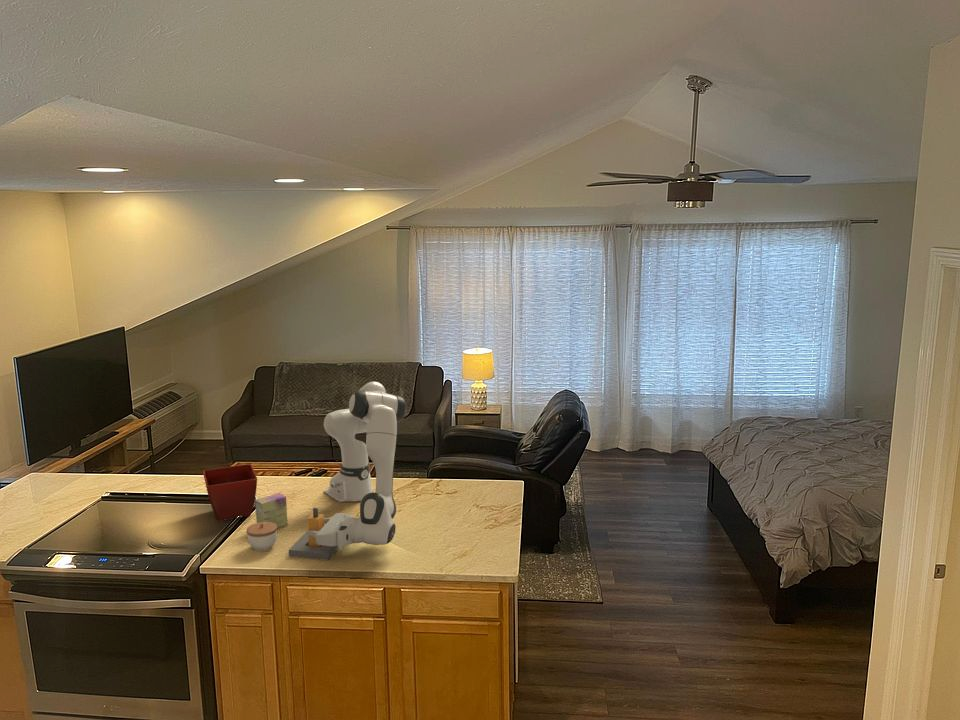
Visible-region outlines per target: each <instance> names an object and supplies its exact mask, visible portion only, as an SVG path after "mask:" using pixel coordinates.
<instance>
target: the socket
mask: <svg viewBox="0 0 960 720" xmlns="http://www.w3.org/2000/svg"><path fill="white" fill-rule="evenodd" d="M338 549H339V548H338V546H322V547H314V546H309V539H308V531H305V532H304V533H303V534H302V536H301V537H300V538H299V539H297V540H296V542H294V544H293V545H292V546H290V548H288V557H290V558H291V557H292V558H293V557H294V558H303V559H313V560H323V561H324V560H325V561H329V560H330V559H331V558H332V556H334V554H335V553H337V551H338Z"/></svg>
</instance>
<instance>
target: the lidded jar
mask: <svg viewBox="0 0 960 720" xmlns="http://www.w3.org/2000/svg"><path fill="white" fill-rule="evenodd" d="M246 537H247V542H248V545H250V547H252V549H254V550H255V551H257V552H266V551H268V550H270V549H272V547H273V546H274V545H275V543H276V541H277V538H278V528H277V525H276V524H275V523H272V522H259V523H257V522H255V523H253V524H250V525H249V526H248V527H247V528H246Z"/></svg>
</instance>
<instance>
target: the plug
mask: <svg viewBox="0 0 960 720" xmlns="http://www.w3.org/2000/svg"><path fill="white" fill-rule="evenodd" d="M324 519H325V514H321V513H320V514H319V508H318V507H313V508H312V514H310V515H309V516H308V518H307V532H308V531H309V530H310V529H311V530H312V529H313V530H314V531H316V532H317V531H320V530H321V529H322V528H323V526H324V525H325V524H324ZM308 539H309V546H314V547H322V546H323V545H318V544H317V543H316V538H315V537H313V536H309V535H308Z"/></svg>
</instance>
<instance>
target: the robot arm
mask: <svg viewBox="0 0 960 720" xmlns="http://www.w3.org/2000/svg"><path fill="white" fill-rule="evenodd" d="M406 413H407V402H406V400H405V399H404V397H402V396H399V395H397V394H391V393H387V391H386V388H385V386H384V385H383V384H382V383H380V382H379V381H370V382H367V383H366V384H365V385H363V386H362V387H361V388H360V389H359V390H356V391H354V392H353V393H352V395H351V397H350V399H349V403H348V408H345V409H337V410H334V411H332V412H329V413H327V414H326V416H325V417H324V420H323V428H324V431H325V432H326V433H327V434H328V435H329V436H330V437H332V438H333V439H335V440H336V441H337V444H338V445H339V447H340V448H339V449H340V451H341V452H340V453H341V463H340V464H338V466H337V467H338V468H340V469H339V471H338V472H337V473H336V474H335V475H333V476H332V477H331V478H330V480H329V486H328V487H326V488H325V489H324V490H323V492H324V493H325V494H326V495H327V496H329V497H331V498H333V499H334V500H336V501H337V502H340V503H345V502H360V504H359V515H360V517H357V516H354V515H352V514H350V513H344V512H337V513H334V514H333V515H332V517H326V518H325V517H324V526H323V528H322V529H321V530H320V531H317V532H316V531H314V530H313V529H312V530H311V529H310V530H309V531H308V530H307V532H308V535H309V536H313V537H315V538H316V543H317V544H318V545H323V546H338V549H343V548H346V547H347V546H350V545H352V544H360V543H361V544H362V543H364V544H366V545H374V546H375V545H376V546H383V545H384V546H385V545H387V544H389V543H391V542H392V540H393V539H394V537H395V534H396V529H397V528H396V526H397V525H396V523H395V521H394V520H393V519H394V518H395V515H396V513H397V505H396V501H395V499H394V493H393V492H394V490H393V487H394V486H393V485H394V463H395V453H396V444H397V434H398V423H400V422H401V421H402V420H403V419H404V418H405V415H406ZM361 433H366V436H365V437H366V439H365V440H366V441H365V442H364V441H362V440H358V439H356V435H357V434H361ZM369 458H370V460H371V461H372V463H373V465H374V469H375V492H373V491H374V487H373V486H372V478H371V473H370V468H371V467H370V462H369Z"/></svg>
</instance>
